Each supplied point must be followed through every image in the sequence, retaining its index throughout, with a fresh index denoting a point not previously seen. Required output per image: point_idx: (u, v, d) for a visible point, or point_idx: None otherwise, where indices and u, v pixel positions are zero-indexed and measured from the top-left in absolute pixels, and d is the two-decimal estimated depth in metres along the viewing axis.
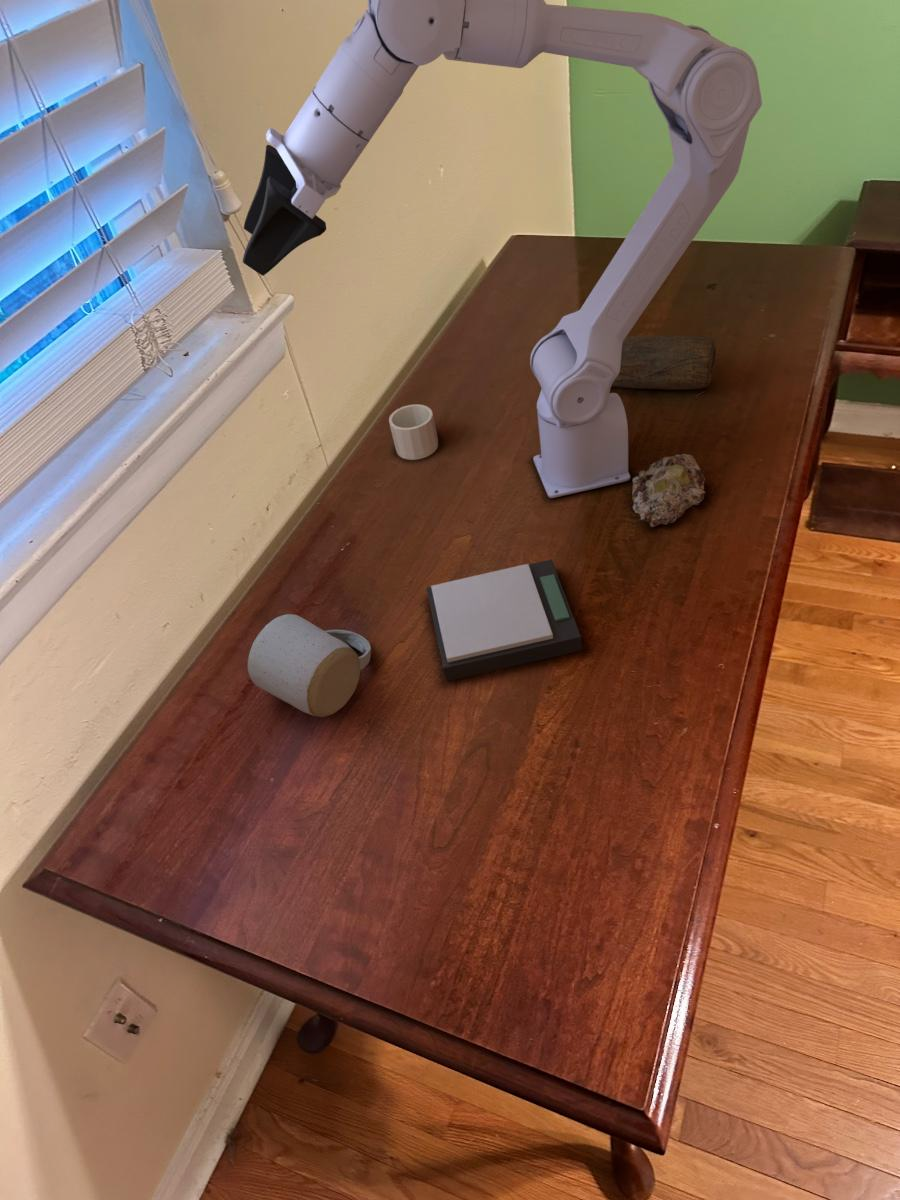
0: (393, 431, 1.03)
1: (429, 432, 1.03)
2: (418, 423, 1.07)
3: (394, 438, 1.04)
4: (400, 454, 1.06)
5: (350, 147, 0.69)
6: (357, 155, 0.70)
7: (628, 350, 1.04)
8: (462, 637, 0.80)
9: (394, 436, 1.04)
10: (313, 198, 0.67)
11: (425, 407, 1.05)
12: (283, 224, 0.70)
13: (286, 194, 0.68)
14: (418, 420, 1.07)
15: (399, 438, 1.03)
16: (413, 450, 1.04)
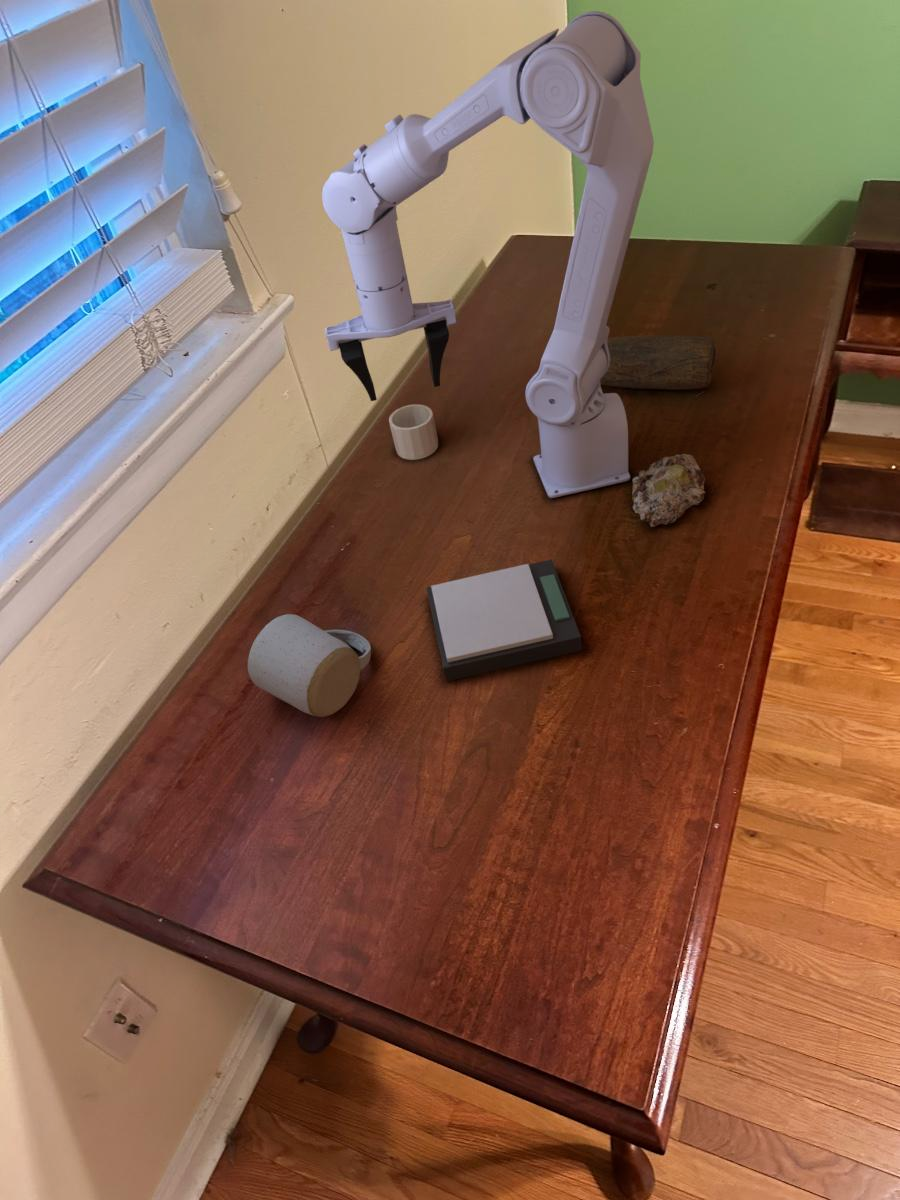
0: (393, 431, 1.03)
1: (429, 432, 1.03)
2: (418, 423, 1.07)
3: (394, 438, 1.04)
4: (400, 454, 1.06)
5: (361, 299, 0.91)
6: (372, 304, 0.91)
7: (628, 350, 1.04)
8: (462, 637, 0.80)
9: (394, 436, 1.04)
10: None
11: (425, 407, 1.05)
12: None
13: None
14: (418, 420, 1.07)
15: (399, 438, 1.03)
16: (413, 450, 1.04)
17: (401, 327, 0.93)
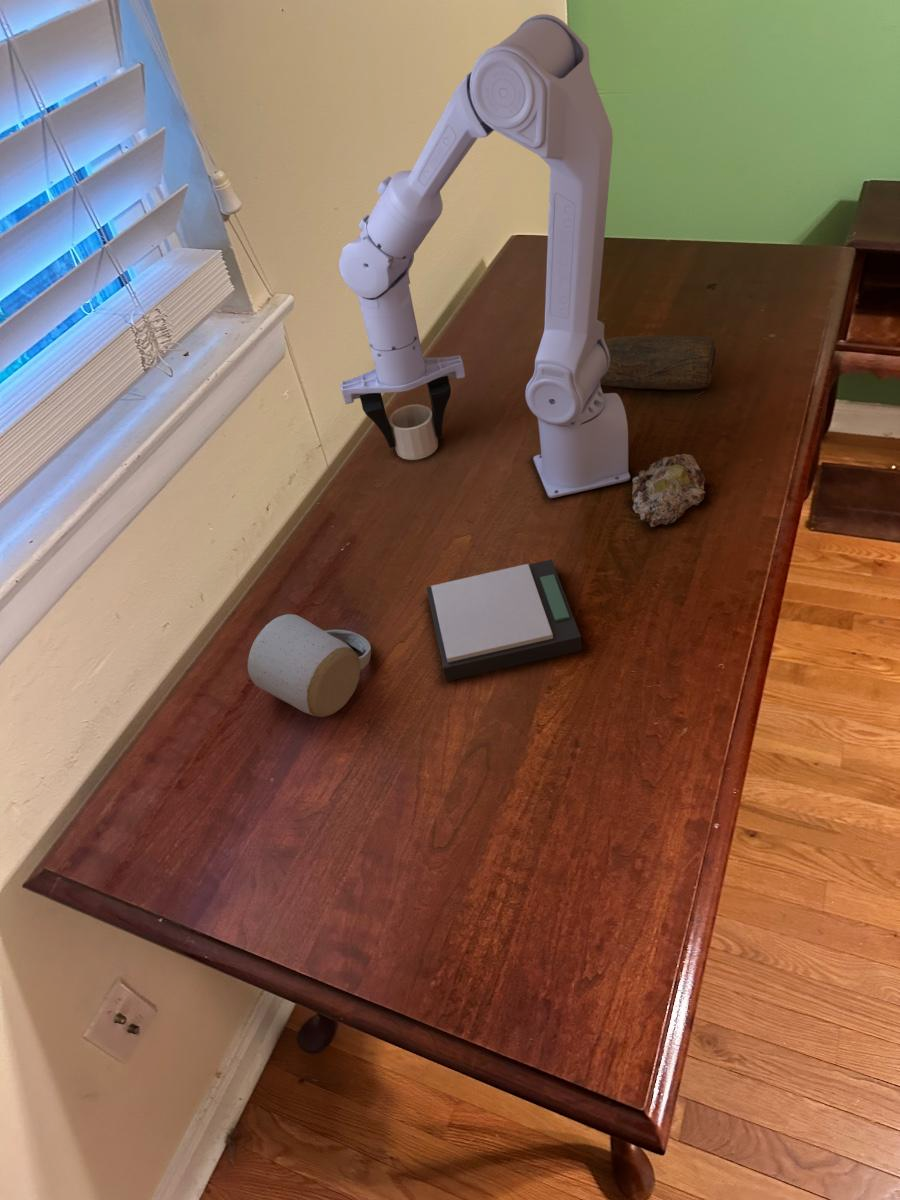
0: (393, 431, 1.03)
1: (429, 432, 1.03)
2: (418, 423, 1.07)
3: (394, 438, 1.04)
4: (400, 454, 1.06)
5: (375, 357, 0.96)
6: (386, 362, 0.96)
7: (628, 350, 1.04)
8: (462, 637, 0.80)
9: (394, 436, 1.04)
10: None
11: (425, 407, 1.05)
12: None
13: None
14: (418, 420, 1.07)
15: (399, 438, 1.03)
16: (413, 450, 1.04)
17: (413, 383, 0.98)
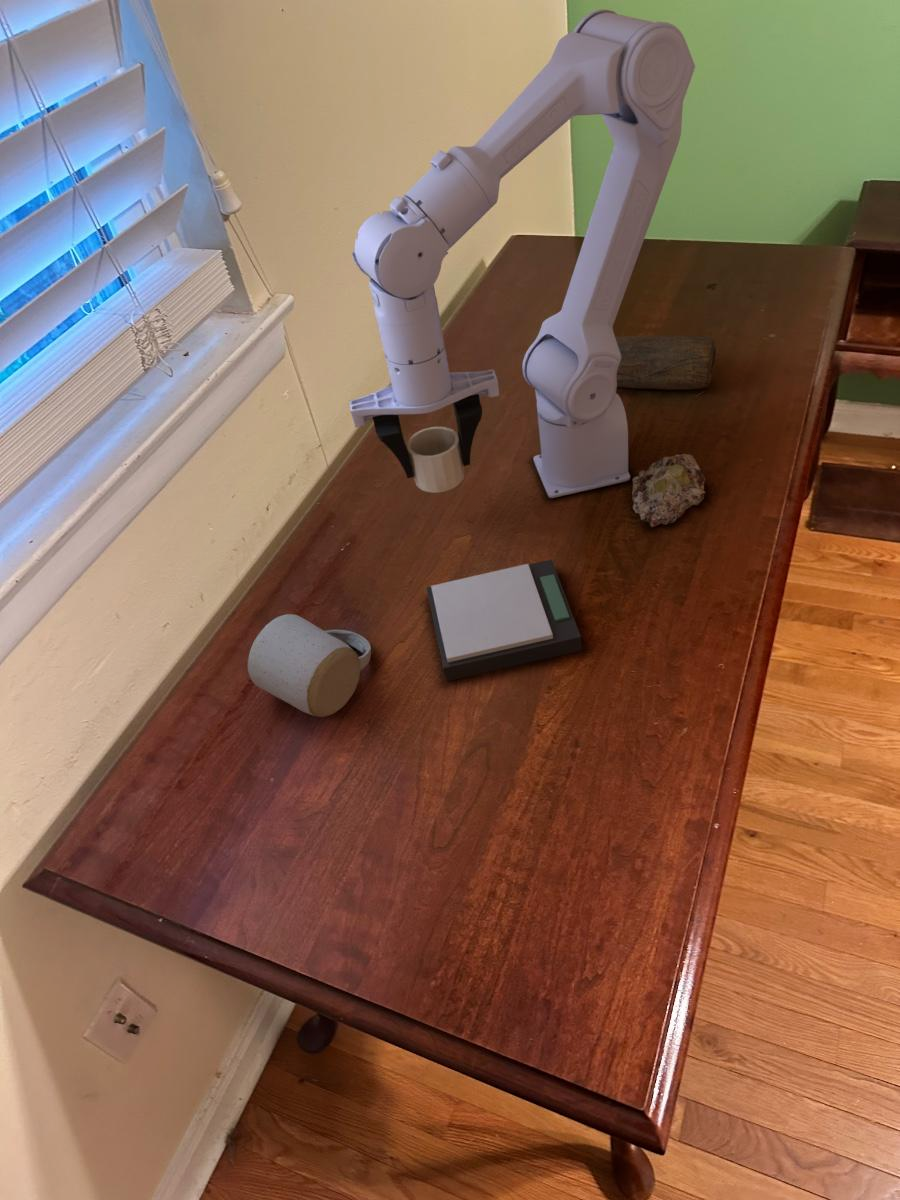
0: (412, 459, 0.87)
1: (454, 460, 0.87)
2: (441, 448, 0.90)
3: (413, 467, 0.88)
4: (419, 486, 0.89)
5: (392, 371, 0.79)
6: (405, 378, 0.79)
7: (628, 350, 1.04)
8: (462, 637, 0.80)
9: (413, 465, 0.87)
10: None
11: (450, 430, 0.88)
12: None
13: None
14: (441, 445, 0.90)
15: (419, 468, 0.87)
16: (435, 481, 0.87)
17: (437, 403, 0.81)
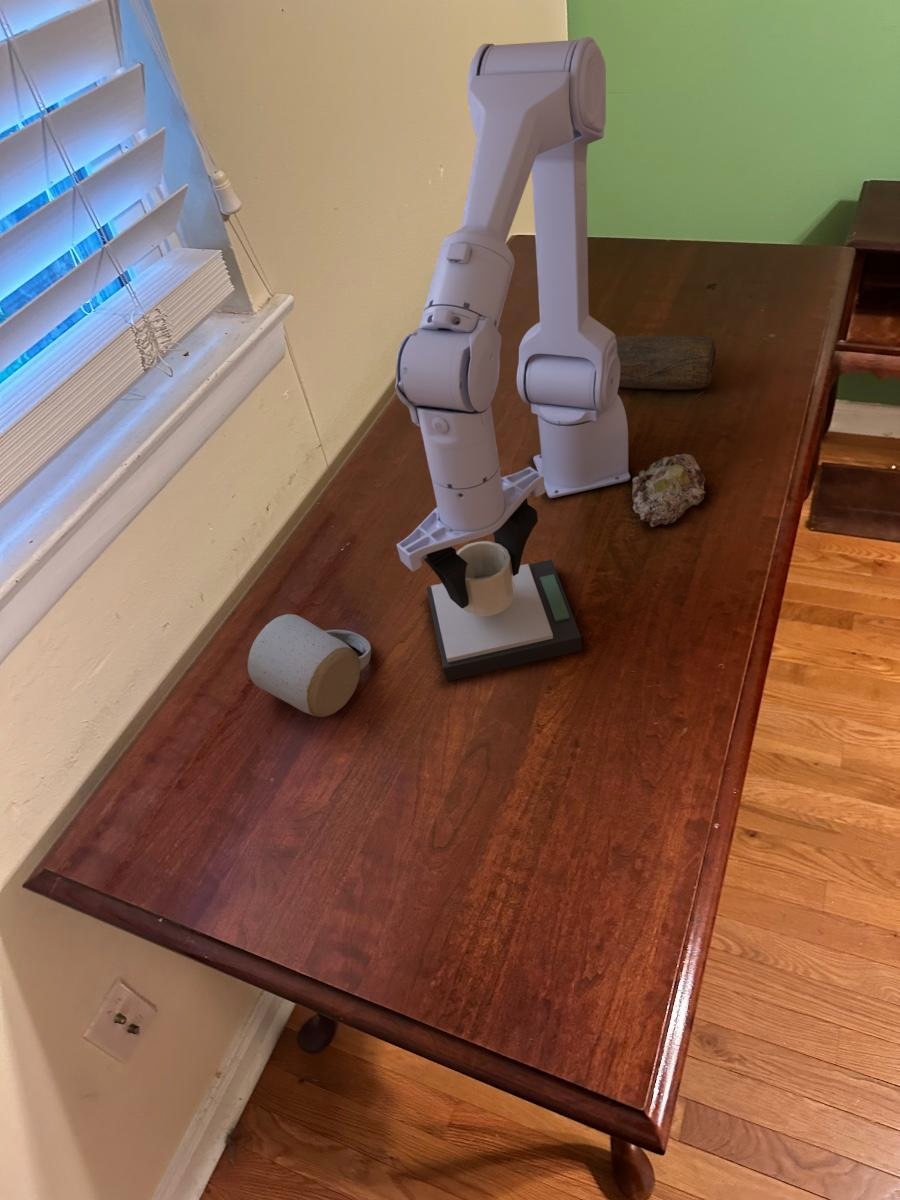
0: (467, 586, 0.76)
1: (511, 573, 0.78)
2: (476, 565, 0.81)
3: None
4: (476, 612, 0.78)
5: (451, 499, 0.69)
6: (470, 502, 0.69)
7: (628, 350, 1.04)
8: (462, 637, 0.80)
9: (468, 592, 0.77)
10: (404, 555, 0.71)
11: (489, 543, 0.79)
12: None
13: None
14: (477, 561, 0.80)
15: (478, 593, 0.76)
16: (496, 602, 0.77)
17: (501, 518, 0.72)
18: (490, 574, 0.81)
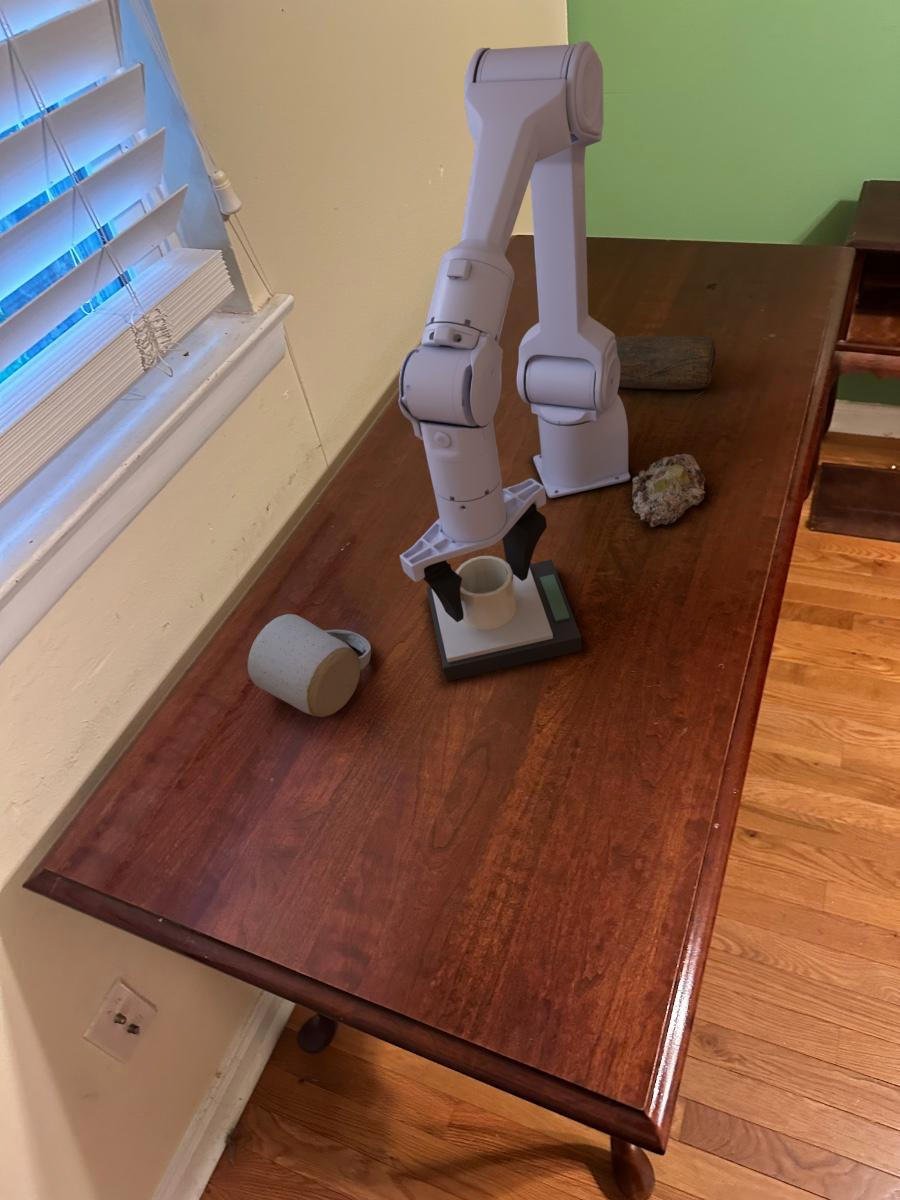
0: (470, 601, 0.77)
1: (513, 588, 0.79)
2: (479, 579, 0.82)
3: (470, 609, 0.78)
4: (478, 626, 0.80)
5: (454, 511, 0.70)
6: (472, 514, 0.70)
7: (628, 350, 1.04)
8: (462, 637, 0.80)
9: (471, 606, 0.78)
10: (407, 566, 0.72)
11: (491, 558, 0.80)
12: None
13: None
14: (479, 575, 0.82)
15: (480, 607, 0.78)
16: (499, 616, 0.79)
17: (503, 530, 0.72)
18: (492, 588, 0.83)
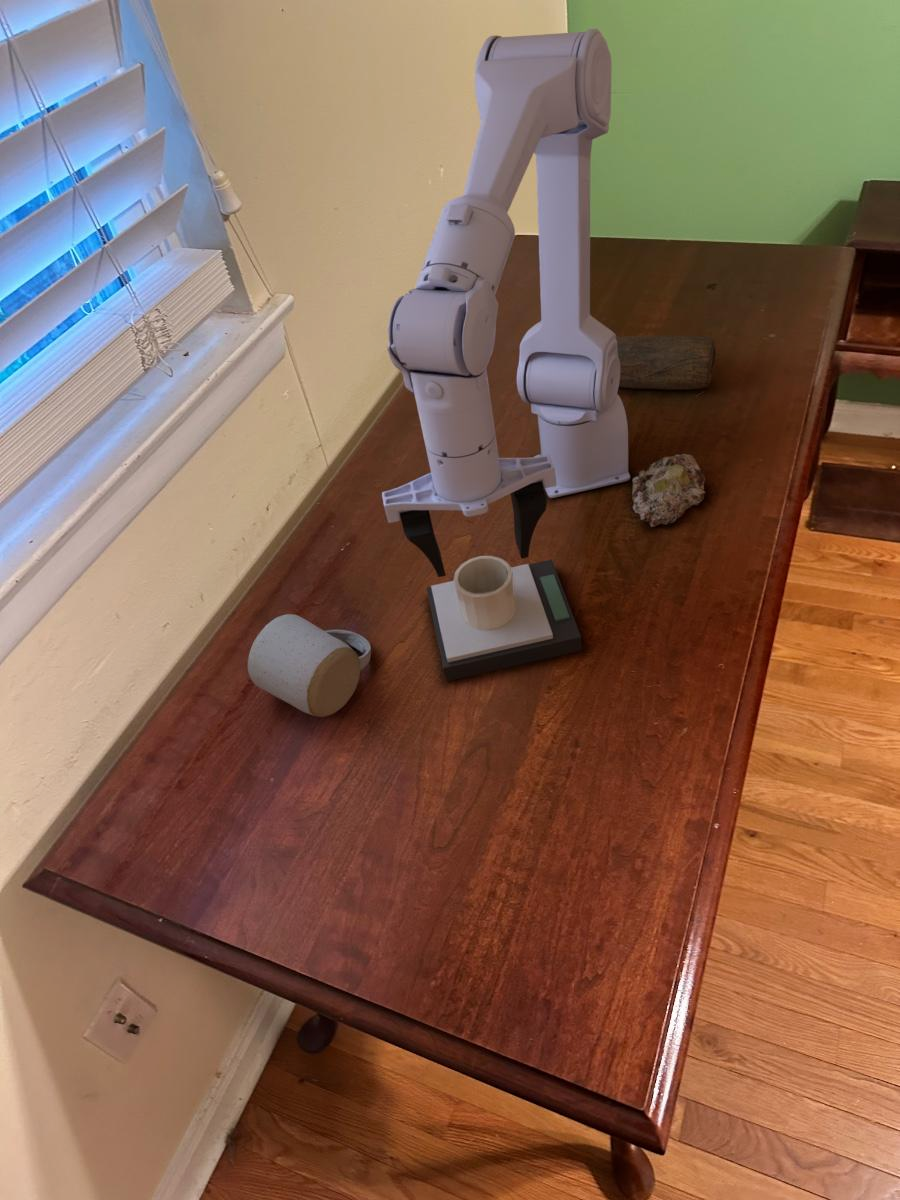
0: (470, 601, 0.77)
1: (513, 588, 0.79)
2: (479, 579, 0.82)
3: (470, 609, 0.78)
4: (478, 626, 0.80)
5: None
6: None
7: (628, 350, 1.04)
8: (462, 637, 0.80)
9: (471, 606, 0.78)
10: None
11: (491, 558, 0.80)
12: None
13: (533, 494, 0.72)
14: (479, 575, 0.82)
15: (480, 607, 0.78)
16: (499, 616, 0.79)
17: None
18: (492, 588, 0.83)
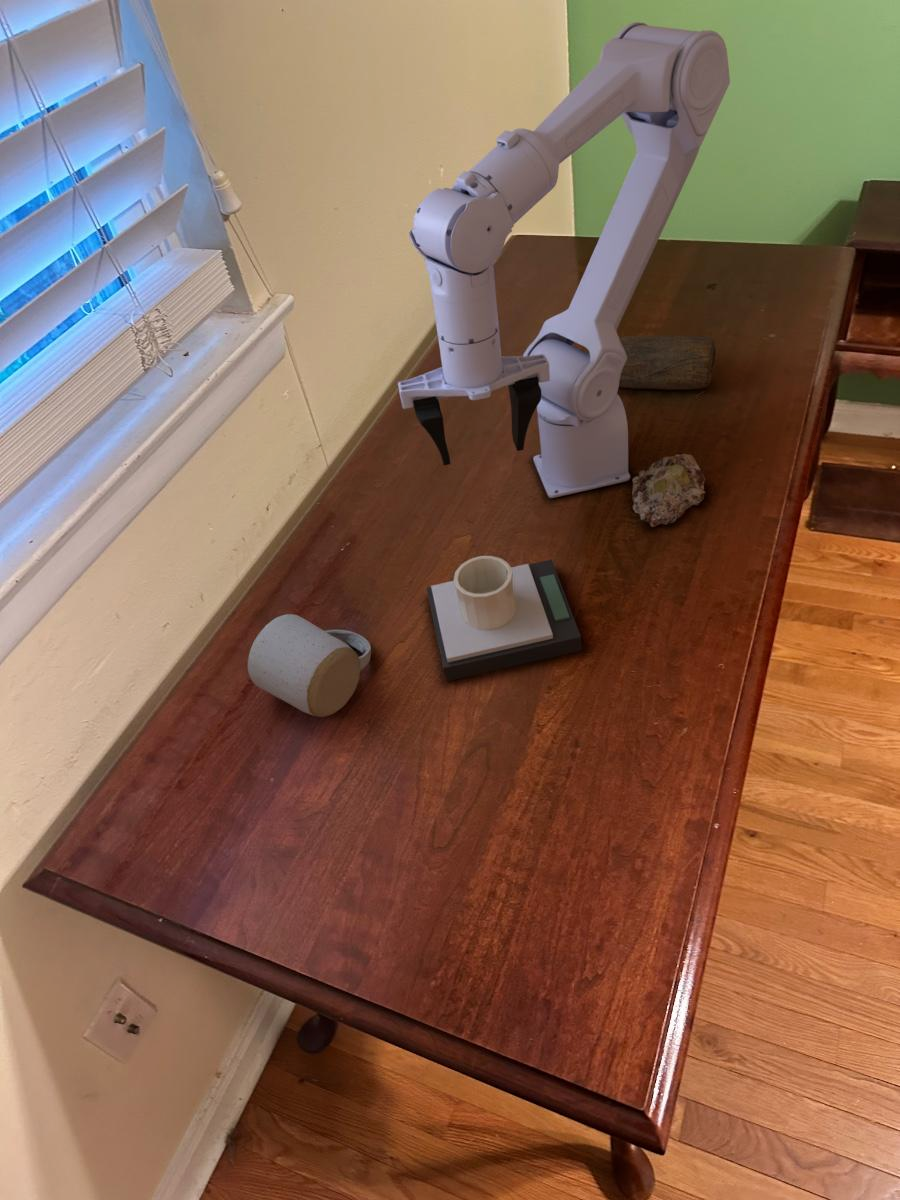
0: (470, 601, 0.77)
1: (513, 588, 0.79)
2: (479, 579, 0.82)
3: (470, 609, 0.78)
4: (478, 626, 0.80)
5: None
6: None
7: (628, 350, 1.04)
8: (462, 637, 0.80)
9: (471, 606, 0.78)
10: None
11: (491, 558, 0.80)
12: None
13: (530, 387, 0.82)
14: (479, 575, 0.82)
15: (480, 607, 0.78)
16: (499, 616, 0.79)
17: None
18: (492, 588, 0.83)
